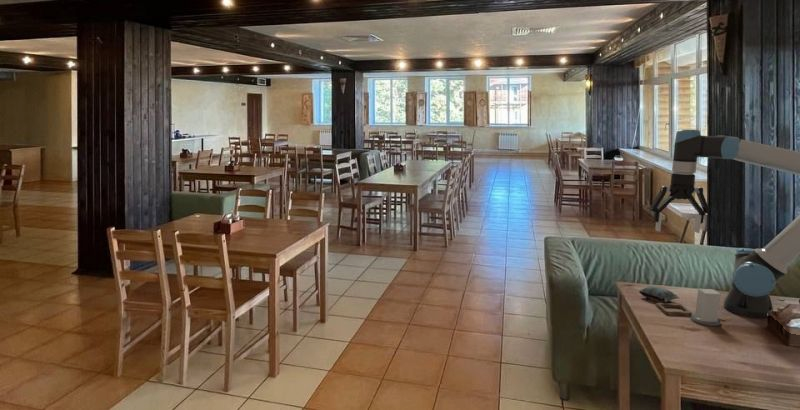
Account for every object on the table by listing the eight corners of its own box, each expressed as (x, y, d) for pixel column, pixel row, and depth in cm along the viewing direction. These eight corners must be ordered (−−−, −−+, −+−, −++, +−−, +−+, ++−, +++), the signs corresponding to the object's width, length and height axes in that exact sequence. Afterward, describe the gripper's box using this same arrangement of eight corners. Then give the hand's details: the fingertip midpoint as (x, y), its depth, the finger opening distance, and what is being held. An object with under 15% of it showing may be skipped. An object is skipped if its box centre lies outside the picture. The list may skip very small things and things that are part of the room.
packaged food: (651, 293, 213) (652, 281, 213) (679, 302, 203) (680, 290, 202) (637, 297, 209) (638, 285, 208) (665, 306, 199) (666, 294, 198)
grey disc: (712, 316, 189) (712, 314, 189) (725, 326, 180) (725, 324, 180) (685, 315, 190) (686, 313, 190) (697, 325, 181) (698, 323, 181)
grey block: (709, 316, 187) (713, 289, 185) (717, 322, 182) (720, 294, 180) (695, 315, 187) (698, 288, 186) (701, 321, 182) (705, 293, 181)
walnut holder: (680, 307, 198) (681, 303, 198) (691, 315, 190) (692, 312, 189) (655, 305, 199) (656, 302, 199) (665, 314, 190) (665, 311, 190)
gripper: (714, 173, 192) (707, 230, 196) (643, 171, 194) (637, 228, 198) (725, 175, 185) (718, 234, 189) (651, 173, 187) (645, 232, 190)
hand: (677, 231), depth 193 cm, fingers open, 13 cm apart
